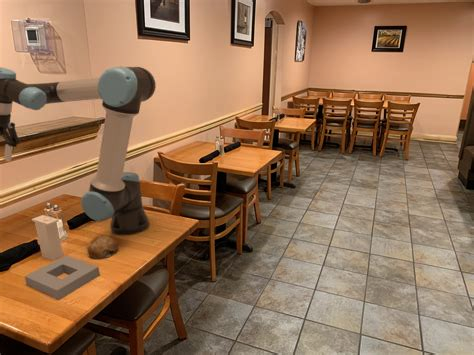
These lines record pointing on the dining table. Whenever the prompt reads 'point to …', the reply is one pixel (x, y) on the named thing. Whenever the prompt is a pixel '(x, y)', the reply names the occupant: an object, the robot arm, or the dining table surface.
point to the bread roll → (102, 247)
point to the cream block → (48, 237)
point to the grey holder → (59, 288)
